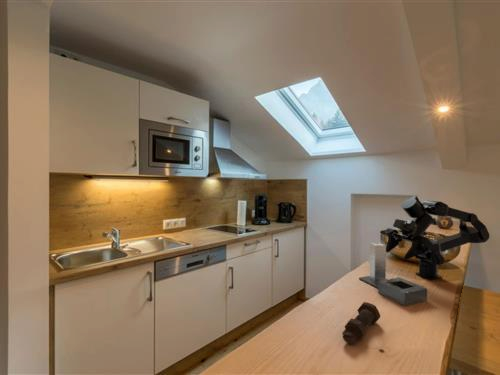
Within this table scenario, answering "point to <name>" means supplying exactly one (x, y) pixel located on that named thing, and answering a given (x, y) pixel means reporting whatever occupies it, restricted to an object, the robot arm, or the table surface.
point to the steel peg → (377, 262)
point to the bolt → (360, 323)
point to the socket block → (402, 291)
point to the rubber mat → (369, 281)
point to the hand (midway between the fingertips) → (394, 255)
